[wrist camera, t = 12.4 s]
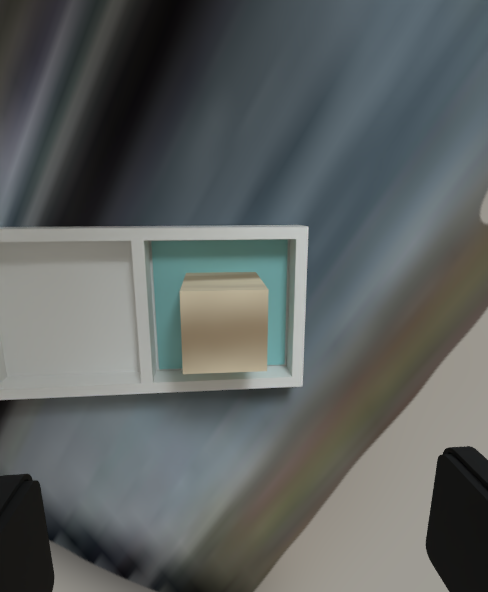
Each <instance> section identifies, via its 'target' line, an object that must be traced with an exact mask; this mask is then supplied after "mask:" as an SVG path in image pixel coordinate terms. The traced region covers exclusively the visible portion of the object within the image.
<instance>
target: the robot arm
mask: <svg viewBox="0 0 488 592" xmlns="http://www.w3.org/2000/svg"><path fill="white" fill-rule="evenodd" d="M426 550H427V554H428V556H429V559H430V561H431V562H432V564H433V566H434V568H435V569H436V571H437V572H438V574H439V576H440V577H441V579H442V580H443V582H444V584H445V585H446V587H447V588H448V590H449V592H488V460H487V459H486V458H485V457H484V456H483V455H482V454H480V453H479V452H478V451H477V450H476V449H475V448H473V447H470V446H467V447H452V448H446V449H445V450H444V452H443V455H440V456H439V457H438V461H437V468H436V475H435V482H434V489H433V496H432V502H431V510H430V516H429V523H428V530H427V537H426ZM53 585H54V570H53V564H52V558H51V551H50V545H49V538H48V532H47V526H46V519H45V513H44V507H43V500H42V494H41V488H40V483H39V482H38V481H33V480H32V477H31V476H30V475H29V474H20V475H4V476H0V592H52V590H53Z"/></svg>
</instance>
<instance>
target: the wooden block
mask: <svg viewBox="0 0 488 592" xmlns="http://www.w3.org/2000/svg"><path fill="white" fill-rule="evenodd" d="M268 292H269V290H268V288H267V287H266V285H265V284H264V283H263V281H262V280H261V279H260V277H259V276H258V274H257V273H256V272H210V273H186V275H185V277H184V280H183V283H182V286H181V289H180V315H181V341H182V366H183V374H204V373H231V372H258V371H267V348H268Z"/></svg>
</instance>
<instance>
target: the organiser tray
mask: <svg viewBox="0 0 488 592" xmlns="http://www.w3.org/2000/svg"><path fill="white" fill-rule="evenodd" d="M307 254H308V227H307V226H302V225H224V226H73V227H0V400H15V399H37V398H59V397H81V396H103V395H125V394H147V393H169V392H191V391H213V390H236V389H258V388H280V387H302V386H303V360H304V333H305V307H306V280H307ZM210 272H256V273H257V274H258V276H259V277H260V279H261V280H262V281H263V283H264V284H265V285H266V287H267V288H268V290H269V292H268V348H267V371H258V372H231V373H204V374H183V366H182V341H181V315H180V289H181V286H182V283H183V280H184V277H185V275H186V273H210Z"/></svg>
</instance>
